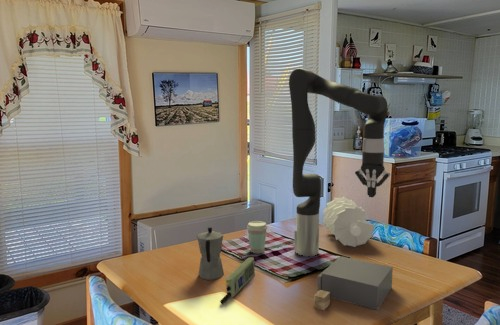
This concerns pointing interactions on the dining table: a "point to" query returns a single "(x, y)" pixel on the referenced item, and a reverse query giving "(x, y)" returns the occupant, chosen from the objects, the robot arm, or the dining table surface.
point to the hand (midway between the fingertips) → (371, 196)
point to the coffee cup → (257, 236)
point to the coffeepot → (210, 255)
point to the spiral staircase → (347, 222)
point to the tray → (321, 280)
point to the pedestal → (321, 299)
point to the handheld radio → (239, 278)
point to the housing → (358, 282)
